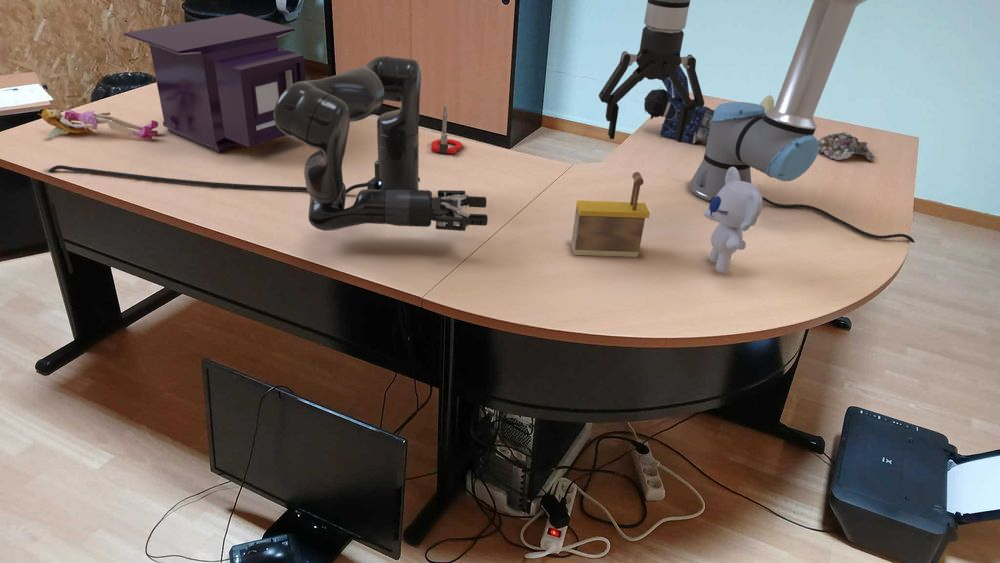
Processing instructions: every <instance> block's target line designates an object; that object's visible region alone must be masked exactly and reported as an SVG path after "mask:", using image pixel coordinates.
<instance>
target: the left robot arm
mask: <svg viewBox="0 0 1000 563" xmlns="http://www.w3.org/2000/svg"><path fill="white" fill-rule="evenodd" d="M421 86H422V72H421V66H420V64H419V62H418V61H417V60H415V59H413V58H406V57H397V56H388V55H387V56H386V55H381V56H377V57H374V58H373V59H371V60H370V61H368V62H366V63H365V64H364V65H363V66H358V67H355V68H351V69H348V70H346V71H343V72H339V73H338V74H335V75H331V76H328V77H325V78H320V79H313V80H306V81H300V82H297V83H294V84H293V85H291V86H289V87H288V88H287V89H286V90H285V91H284V92H283V93H282V94H281V96H280V97H279V99H278V100H277V102H276V105H275V108H274V121H275V124H276V126H277V127H278V128H279V130H281V131H282V132H283V133H285V134H286V135H287V136H286V137H290V138H292V139H294V140H295V141H298V142H300V143H302V144H304V145H306V146H308V147H310V148H313V149H317V151H314V153H312V154H311V155H310V156H309V157H308V158H307V160H306V162H305V164H304V167H303V177H304V181H305V182H304V183H305V186H287V185H286V186H284V185H265V184H246V183H231V182H229V183H228V182H216V181H215V182H214V181H203V180H190V179H179V178H170V177H162V176H161V177H160V176H152V175H144V174H143V175H142V174H137V173H127V172H120V171H119V172H118V171H109V170H102V169H96V168H95V169H94V168H87V167H76V166H68V165H62V164H61V165H60V164H59V165H54V166H53V167H51V168H50V169H48V171H47V172H48V173H54V172H55V171H57V170H67V171H72V172H81V173H91V174H96V175H97V174H99V175H105V176H113V177H122V178H130V179H139V180H148V181H156V182H163V183H175V184H184V185H193V186H194V185H196V186H208V187H219V188H233V189H234V188H235V189H252V190H254V189H255V190H275V191H298V192H299V191H301V192H307V193H308V195H309V208H308V215H307V216H308V222H309V224H310V225H311V226H312V227H313V228H315V229H317V230H319V231H323V232H332V231H337V230H342V229H346V228H351V227H355V226H360V225H365V224H370V225H390V226H395V227H416V228H417V227H421V228H430V227H431V225H432V221H433V222H435V230H441V231H442V230H444V231H456V232H457V231H458V232H459V231H460V232H464V231H466V228H467V227H469V226H484V227H485V226H487V225H488V221H489V218H488V214H487V213H467V212H463V211H462V209H463V208H480V209H481V208H487V201H488V200H487V197H486V196H472V195H469V194H467V193H466V191H465V190H453V189H452V190H451V189H449V190H444V189H440V190H437V196H436V197H435V196H434V197H433V193H432V191H431V190H427V189H419V183H421V178H420V177H419V162H420V161H419V157H420V156H419V152H420V151H419V150H420V149H419V148H420V146H419V145H420V144H419V143H420V142H419V140H420V139H419V136H420V135H419V133H420V132H419V130H420V129H419V124H420V123H419V122H420V106H421V105H420V103H421ZM384 101H390V102H397V103H401V107H400V108H398V109H395V110H390V111H386V112H384V113H382V114H380V115H379V116H378V118H377V120H376V136H377V138H376V139H377V140H376V141H377V160H375V162H374V177H372V178H371V179H370V180H368V181H367V182H363V183H357V184H353V185H350V186H349V187H347V188H346V184H345V182H344V177H343V176H344V175H343V163H344V158H345V153H346V148H347V144H348V137H349V132H350V125H351V123H352V122H354V123H355V122H360V121H362V120H365V119H367V118H368V117H371V116H372V115H374V114H375V113H376V112H378V111H379V110H380V108H382V105H383V103H384ZM360 188H365V189H361V190H359V192H358V193H357V195H356V198H355V201H354V203H353V204H352V205H351V206H349V207H347V208H346V197H347V194H349V193H350V192H351V191H353V190H356V189H360ZM50 208H51V213H52V218H53V222H54V225H55V228H56V229H55V230H56V232H57V235H58V239H59V242H60V246H61V249H62V251H63V254H64V258H65V261H66V265H67V269H68V273H69V274H74V270H73V266H72V262H71V259H70V255H69V252H68V249H67V245H66V242H65V239H64V237H63V236H64V235H63V232H62V229H61V226H60V222H59V218H58V213H57V209H56V203H52V202H51V203H50Z"/></svg>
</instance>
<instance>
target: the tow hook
mask: <svg viewBox="0 0 1000 563" xmlns="http://www.w3.org/2000/svg"><path fill="white" fill-rule="evenodd" d="M447 110H448V106H447V105H443V113H442V124H441V127H442V128H441V130H442V131H441V134H440V139H434V140H433V141H431V148H430V150H431V152H435V153H436V152H437V153H439V154H450V155H451V154H452V155H456V154H457V152H458V151H460V150H462V149H463V144H462V142H460V141H458V140H457V139H451V138H448V134H447V129H448V113H447ZM449 144H451V145H454V146H449Z"/></svg>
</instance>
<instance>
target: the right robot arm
mask: <svg viewBox="0 0 1000 563" xmlns="http://www.w3.org/2000/svg"><path fill="white" fill-rule="evenodd" d="M866 1H867V0H813V1H812V4H811V6H810V9H809V12H808V14H807V18H806V20H805V23H804V25H803V28H802V31H801V35H800V36H799V39H798V42H797V45H796V48H795V49H794V53H793V56H792V58H791V61H790V64H789V66H788V69H787V72H786V75H785V77H784V80H783V83H782V86H781V88H780V91H779V94H778V97H777V100H776V102H775V104H774V108H772V109H770V110H768V111H767V112H765V108H764V107H763V106H761V105H760V104H758V103H753V102H745V101H730V102H722V103H721V104H718V105H716V107H715V109H714V115H713V118H712V120H711V125H710V130H709V135H708V140H707V142H706V145H705V150H704V154H703V159H702V161H701V163H700V165H699V166H698V168H697V169H696V171H695V173H694V174H693V176H692V179H691V181H690V184H689V189H690V191H691V193H693V194H694V196H696V197H698V198H700V199H702V200H704V201H707V202H710V200H711V199H712V198H713V197H714V196H715V195H716V196H717V194H718V193H719V191H720V190H721V189H722V188H723V187H724V186H725V177H726V173H727V171H728V169H729V168H731V167H735V168H736V169H737V170H738V172H739V176H740V181H744V182H748V183H751V184H752V174H751V168H753V169H755V170H756V171H759V172H761V173H762V174H765V175H766V176H767V177H769V178H774V179H776V180H779V181H781V182H791V181H795V180H796V179H798V178H800V177H801V176H802V175H804V174H805V173H807V171H808V170H809V169H810V168H811V167H812V166H813V164H814V162H815V161H816V159H817V157H818V154H819V153H820V152H819V146H818V145H819V140H818V139H817V137H816V136H814V135H815V132H816V129H817V123H816V122H815V119H814V115H815V113H816V110H817V107H818V106H819V102H820V100H821V97H822V95H823V93H824V90H825V87H826V85H827V82H828V79H829V77H830V75H831V72H832V69H833V67H834V64H835V62H836V59H837V57H838V54H839V51H840V50H841V46H842V44H843V41H844V39H845V36H846V34H847V32H848V29H849V26H850V24H851V22H852V19H853V16H854V13H855V10H856V8H857V7H858V6H859V5H861V4H864V3H865V2H866ZM690 5H691V0H647V2H646V8H645V15H644V19H643V23H644V27H643V28H642V30H641V31H642V32H641V38H640V44H639V50H638V52H637V54H635V53H634V54H633V53H628V52H629V51H623V52H621V55H620V59H619V62H618V64H617V65H616V67H615V69H614V70H613V72H612V73H611V75H610V76H609V78H608V79H607V81H606V82H605V84H604V86H603V88H602V89H601V90H600V92H599V94H598V98H599V100H600V102H601V103H605V104H606V111H605V119H606V121H607V122H609V125H608V132H607V135H608V137H609V139H610V140H615V136H616V129H617V122H618V116H619V110H620V106H619V104H618V102H620V101H621V100H622V99H623V98H624V97H625V96H626V95H627V94H628V93H629V92H630V91H631V90H632V89H634V87H636V85H637V84H638V83H641V82H642V81H643V80H645V79H647V80H651V81H653V80H659V81H662V80H665V79H667V78H668V77H669V79H670V80H671V82H672V83H673V85H674V86H675V88H676V90H677V91H678V93H679V94H680V96H681V98H682V99H683V101H684V102H685V104H686V106H683V105H681V108H680V113H679V118H678V124H677V129H676V134H675V138H676V139H675V140H676V141H677V142H678V143H683V141H682V139H683V134H684V129H685V125H689V124H690V123H691V118H692V113H693V111H694V110H695V109H696V107H699V106H700V107H702V106H704V107H705V99H704V96H703V92H702V88H701V85H700V82H699V78H698V74H697V71H696V68H697V67H696V66H697V59H696V57H694V56H693V55H692V54H688V55H687V56H681V52H682V47H683V42H684V35H685V33H684V31H683V30H684V29H686V26H687V20H688V15H689V13H688V12H689V9H690ZM633 63H636V65H637V66H638V67H636V68H635V69H634V70H633V72H632V73H631V74H630V76H629V77H627V78H626V79H625V80H624V81H623V82H622V83H621V84H620V85H619V86H618V84H619V82H620V81H621V79H622V78H623V76H624V75H625V73H626V72H627V70H628V68H629V67H631V66H632V65H633ZM681 65H682V67H683V68H684V69H685V71H686V74H687V75H686V76H687V79H688V83H689V85H690V88H691V92H692V95H693V98H692V99H691V96H690V94H689V95H688V94H687V92H686V90H685V89H684V87H683V86H682V84H681V82H680V81H679V79H678V77H677V76H676V74H675V72H674V71H675V70H676V69H677V68H678V67H679V66H681ZM616 87H617V88H616ZM764 114H765V115H764ZM716 196H715V197H716ZM715 197H714V198H715ZM762 201H764V202H765V203H767V204H770V205H771V206H773V207H777V208H785V209H787V208H788V209H789V208H790V209H791V208H803V209H809V210H813V211H815V212H818V213H820V214H823V215H825V216H826V217H828V218H830V219H831V220H833V221H835V222H838V223H839V224H841V225H844V226H846V227H847V228H848V229H851V230H853V231H854V232H857V233H859V234H861V235H863V236H866V237H870V238H872V239H878V240H882V239H883V240H886V239H894V238H905V239H907V240H908V241H909V242H910V243H916V241H915V239H914V238H913V237H912V236H910V235H909V234H905V233H893V234H888V235H887V234H886V235H885V234H884V235H878V234H873V233H870V232H867V231H864V230H861V229H860V228H859V227H856V226H854V225H852V224H850V223H848V222H846V221H844V220H843V219H840V218H838V217H837V216H834V215H832V214H831V213H829V212H827V211H826V210H823V209H821V208H818V207H816V206H814V205H813V206H812V205H809V204H799V203H798V204H796V203H795V204H782V203H776V202H774V201H771V200H769V199H768V198H766V197H765V196H762Z"/></svg>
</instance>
